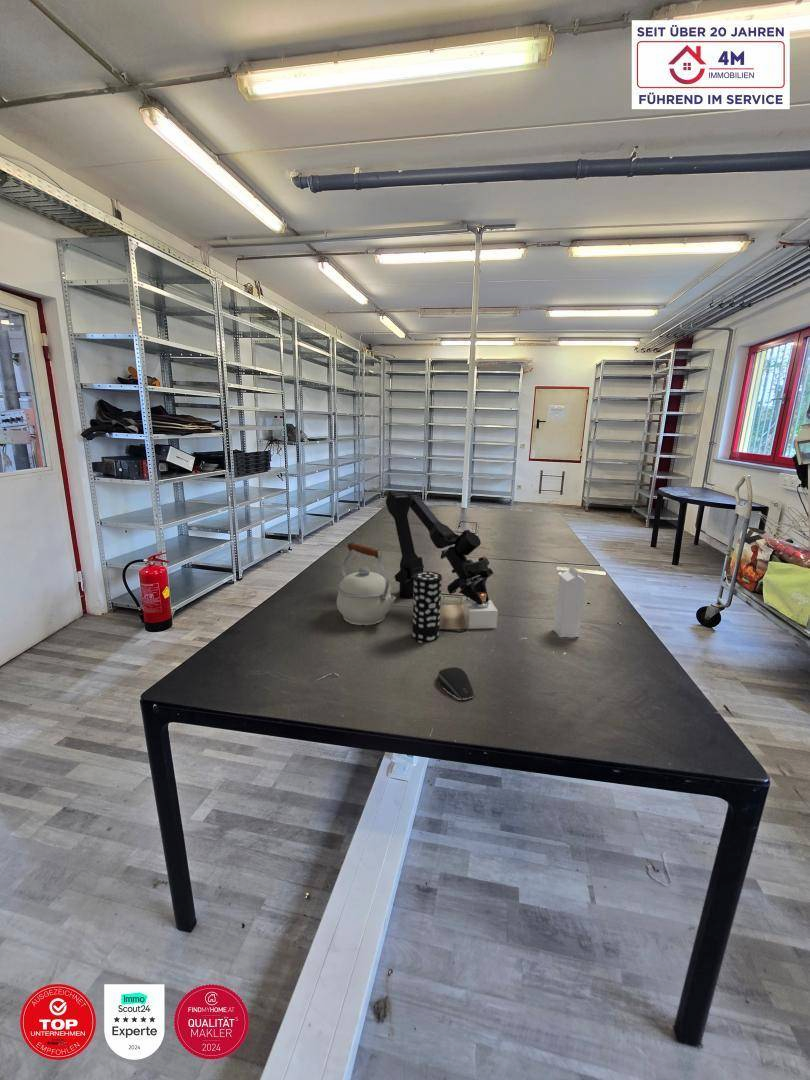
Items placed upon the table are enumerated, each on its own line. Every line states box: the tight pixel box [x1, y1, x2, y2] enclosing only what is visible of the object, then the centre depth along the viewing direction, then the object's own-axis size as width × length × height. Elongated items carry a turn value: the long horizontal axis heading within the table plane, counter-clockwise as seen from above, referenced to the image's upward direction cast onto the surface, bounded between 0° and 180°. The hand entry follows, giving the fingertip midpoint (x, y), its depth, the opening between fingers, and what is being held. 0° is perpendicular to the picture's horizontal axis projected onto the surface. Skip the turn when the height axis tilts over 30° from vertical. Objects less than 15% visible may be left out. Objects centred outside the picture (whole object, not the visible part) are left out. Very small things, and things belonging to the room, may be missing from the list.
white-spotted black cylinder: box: [411, 570, 443, 644], centre depth 133 cm, size 8×8×20 cm
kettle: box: [336, 541, 396, 626], centre depth 145 cm, size 25×18×25 cm
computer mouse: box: [437, 666, 475, 699], centre depth 110 cm, size 7×12×4 cm, turn 23°
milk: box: [552, 565, 587, 638], centre depth 137 cm, size 6×6×22 cm
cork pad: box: [439, 604, 480, 630], centre depth 150 cm, size 19×19×1 cm
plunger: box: [473, 592, 489, 607], centre depth 144 cm, size 5×5×9 cm
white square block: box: [463, 599, 499, 629], centre depth 145 cm, size 9×9×6 cm
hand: (484, 602), depth 143 cm, fingers closed on plunger, 3 cm apart
